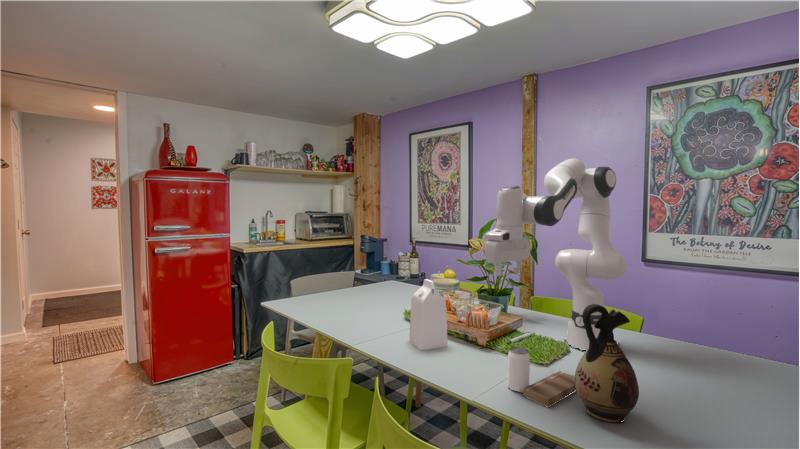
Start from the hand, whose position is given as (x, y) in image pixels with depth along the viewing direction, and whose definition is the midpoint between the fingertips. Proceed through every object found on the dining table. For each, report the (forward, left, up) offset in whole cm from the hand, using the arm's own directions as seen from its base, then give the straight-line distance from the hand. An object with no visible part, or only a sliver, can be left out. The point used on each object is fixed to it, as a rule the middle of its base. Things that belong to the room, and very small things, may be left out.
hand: (508, 274), depth 130 cm
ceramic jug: (+2, +33, -33) cm, 47 cm away
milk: (+6, -34, -33) cm, 48 cm away
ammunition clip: (-10, -22, -33) cm, 41 cm away
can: (+8, +11, -33) cm, 36 cm away
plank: (+1, +19, -33) cm, 38 cm away
